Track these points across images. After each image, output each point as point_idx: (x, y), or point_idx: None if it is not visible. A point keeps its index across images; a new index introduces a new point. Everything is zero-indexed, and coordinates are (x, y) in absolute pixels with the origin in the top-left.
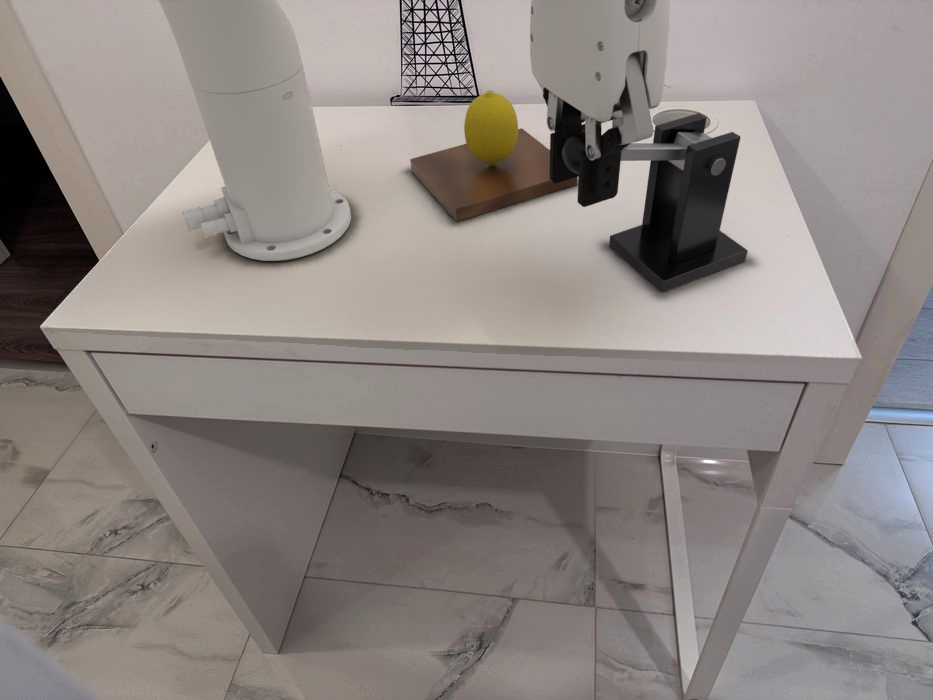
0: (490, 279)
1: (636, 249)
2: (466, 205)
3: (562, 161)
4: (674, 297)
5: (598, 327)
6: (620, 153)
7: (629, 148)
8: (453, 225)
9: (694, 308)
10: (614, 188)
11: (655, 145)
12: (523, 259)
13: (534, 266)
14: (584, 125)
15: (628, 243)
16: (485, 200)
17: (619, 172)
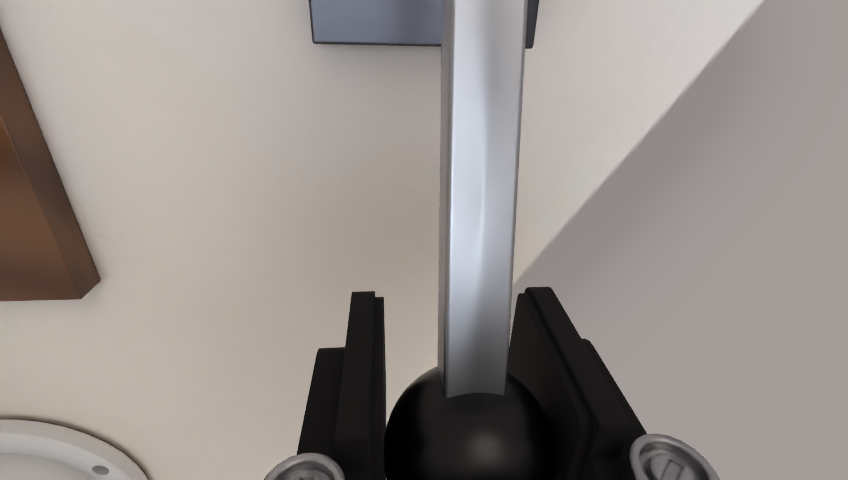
0: (318, 296)
1: (399, 22)
2: (69, 276)
3: (385, 425)
4: (549, 31)
5: (525, 210)
6: (616, 403)
7: (510, 262)
8: (112, 288)
9: (601, 17)
10: (591, 344)
11: (483, 59)
12: (284, 226)
13: (315, 219)
14: (348, 452)
15: (365, 22)
16: (52, 232)
17: (578, 335)
